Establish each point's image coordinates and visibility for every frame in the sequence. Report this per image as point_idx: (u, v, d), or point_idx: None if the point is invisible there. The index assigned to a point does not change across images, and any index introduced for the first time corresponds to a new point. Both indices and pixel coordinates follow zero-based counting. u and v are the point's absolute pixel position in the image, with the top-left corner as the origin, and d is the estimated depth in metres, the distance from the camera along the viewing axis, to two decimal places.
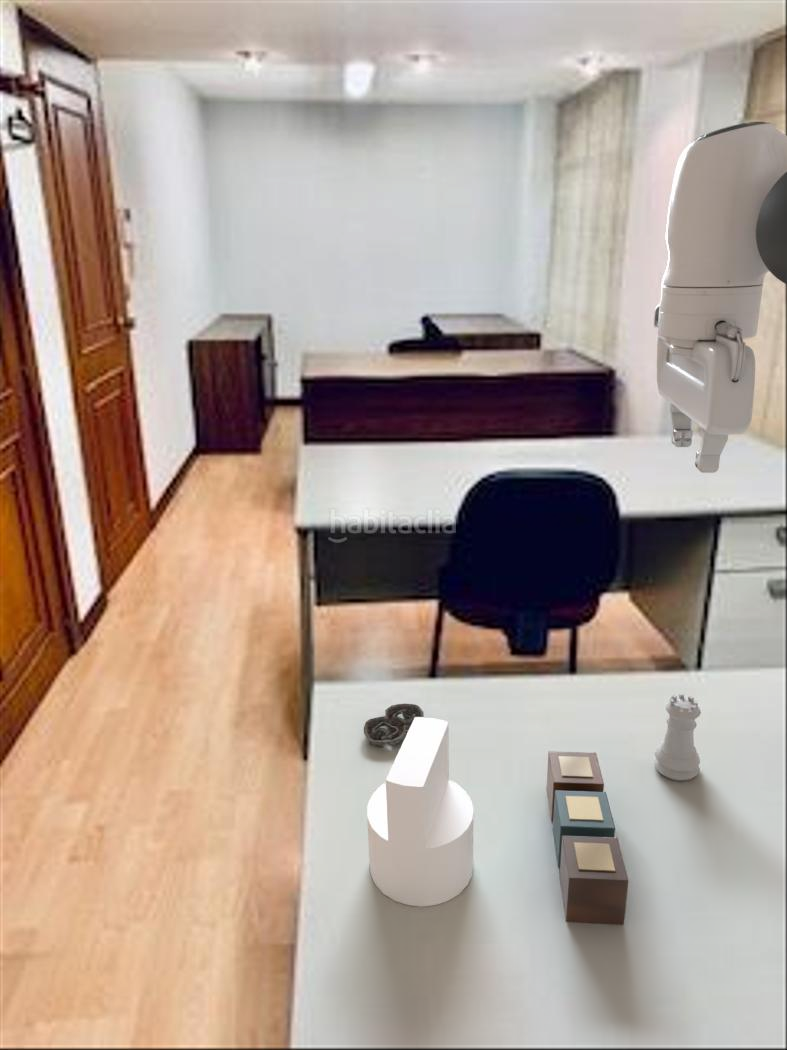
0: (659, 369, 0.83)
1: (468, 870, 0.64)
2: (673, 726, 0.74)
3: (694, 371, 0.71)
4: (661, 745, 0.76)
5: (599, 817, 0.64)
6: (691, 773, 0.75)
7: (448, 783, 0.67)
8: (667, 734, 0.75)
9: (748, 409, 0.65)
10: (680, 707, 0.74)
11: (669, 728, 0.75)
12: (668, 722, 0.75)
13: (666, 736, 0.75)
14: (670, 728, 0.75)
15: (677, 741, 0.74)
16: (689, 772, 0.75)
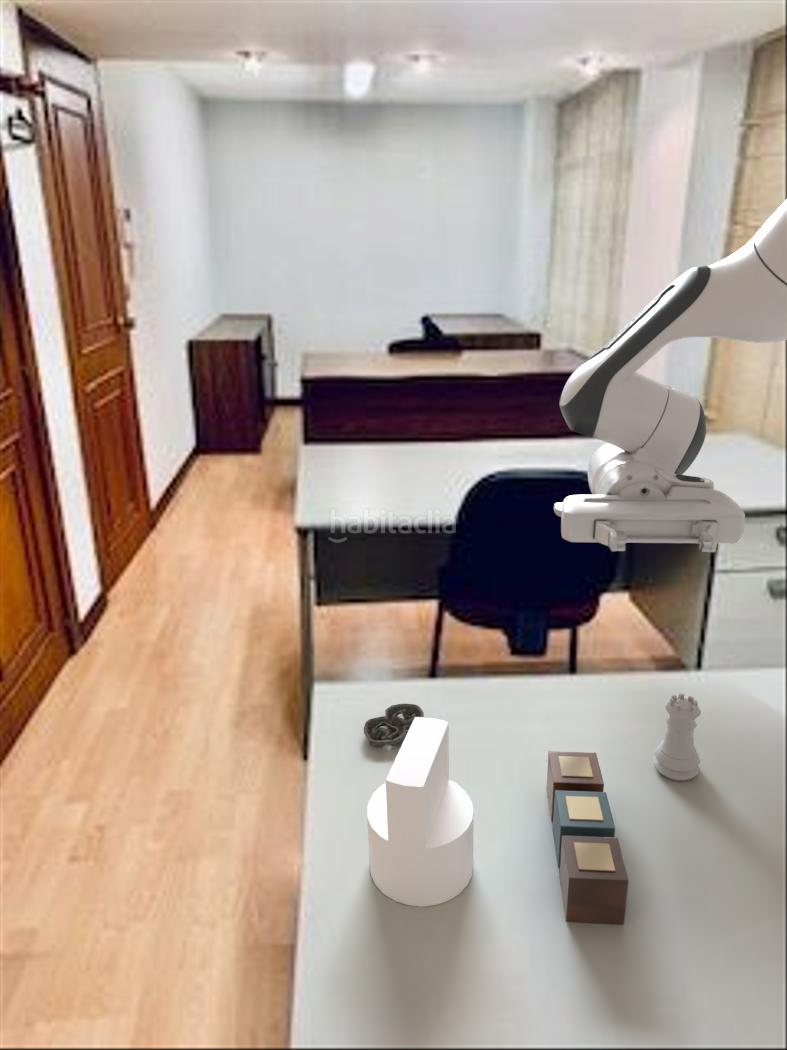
0: None
1: (468, 870, 0.64)
2: (673, 726, 0.74)
3: None
4: (661, 745, 0.76)
5: (599, 817, 0.64)
6: (691, 773, 0.75)
7: (448, 783, 0.67)
8: (667, 734, 0.75)
9: (562, 511, 0.88)
10: (680, 707, 0.74)
11: (669, 728, 0.75)
12: (668, 722, 0.75)
13: (666, 736, 0.75)
14: (670, 728, 0.75)
15: (677, 741, 0.74)
16: (689, 772, 0.75)
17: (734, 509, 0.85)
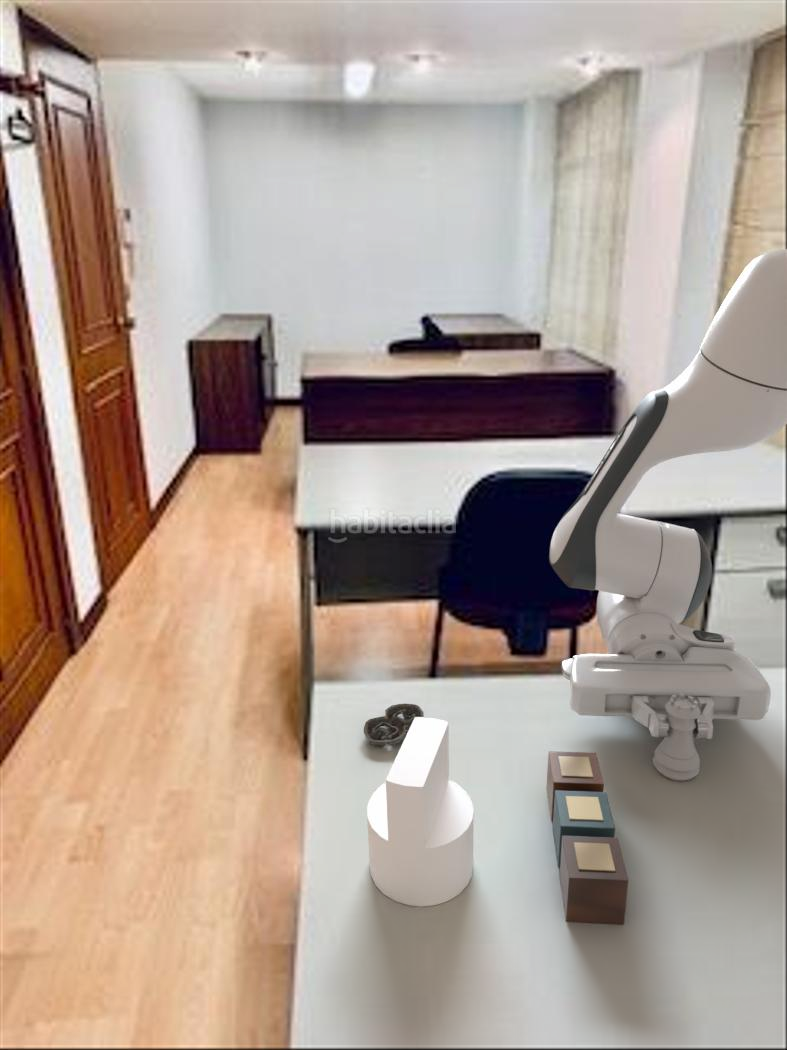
0: None
1: (468, 870, 0.64)
2: (673, 726, 0.74)
3: None
4: (661, 745, 0.76)
5: (599, 817, 0.64)
6: (691, 773, 0.75)
7: (448, 783, 0.67)
8: None
9: (570, 679, 0.81)
10: (680, 707, 0.74)
11: (669, 728, 0.75)
12: None
13: None
14: (670, 728, 0.75)
15: (677, 741, 0.74)
16: (689, 772, 0.75)
17: (758, 682, 0.78)
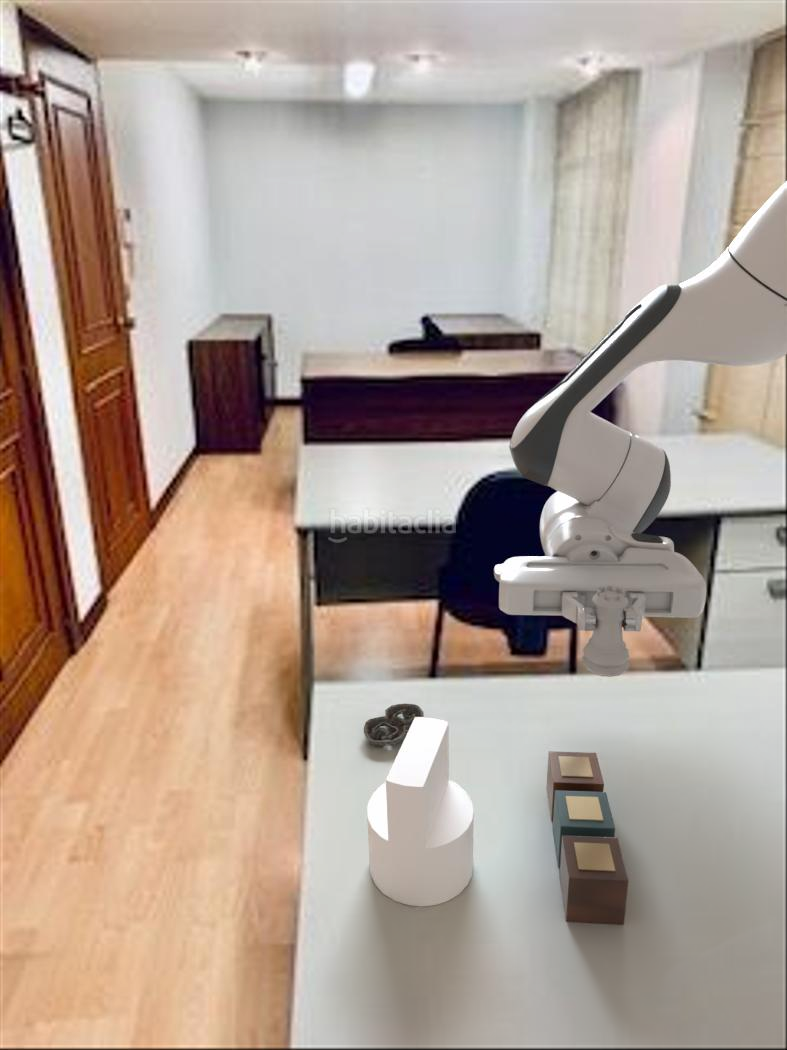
0: None
1: (468, 870, 0.64)
2: (600, 618, 0.70)
3: None
4: (589, 641, 0.73)
5: (599, 817, 0.64)
6: (620, 668, 0.71)
7: (448, 783, 0.67)
8: (595, 628, 0.72)
9: (499, 578, 0.77)
10: (607, 597, 0.70)
11: (596, 621, 0.71)
12: None
13: None
14: (598, 620, 0.71)
15: (605, 634, 0.71)
16: (617, 667, 0.71)
17: (694, 578, 0.75)
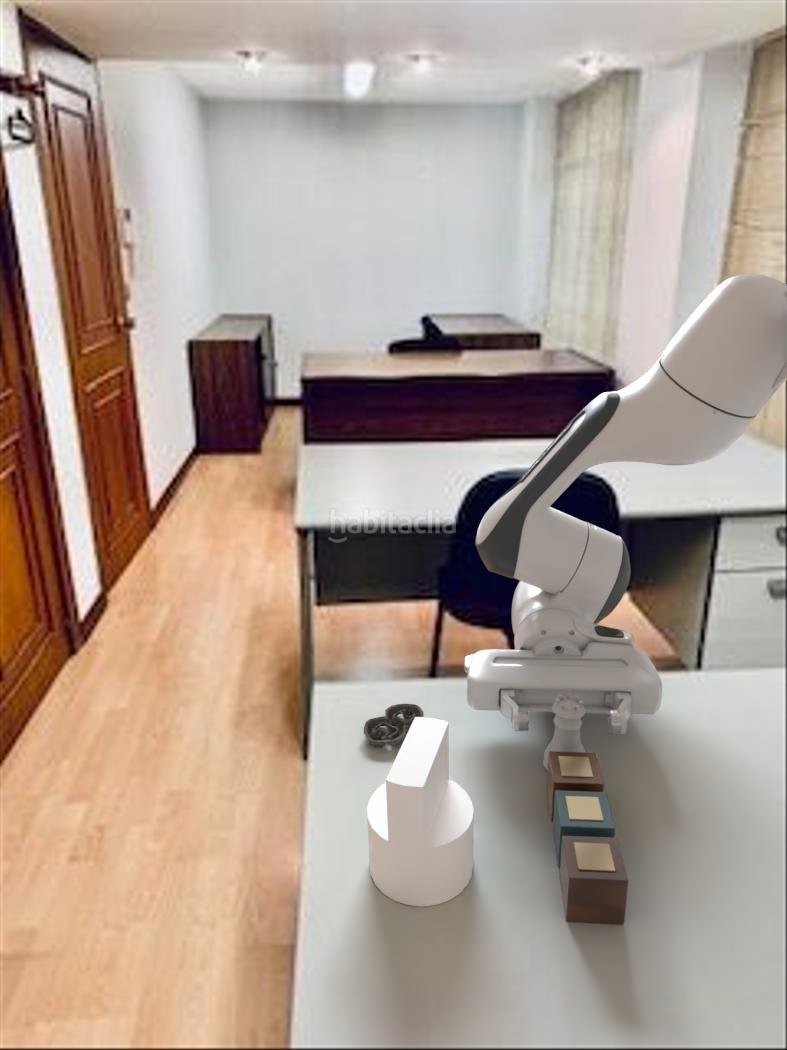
0: None
1: (468, 870, 0.64)
2: (558, 726, 0.75)
3: None
4: (550, 744, 0.77)
5: (599, 817, 0.64)
6: None
7: (448, 783, 0.67)
8: (554, 733, 0.76)
9: None
10: (565, 707, 0.74)
11: (556, 727, 0.75)
12: (554, 722, 0.75)
13: (554, 735, 0.76)
14: (557, 727, 0.75)
15: (563, 740, 0.75)
16: None
17: (651, 677, 0.79)
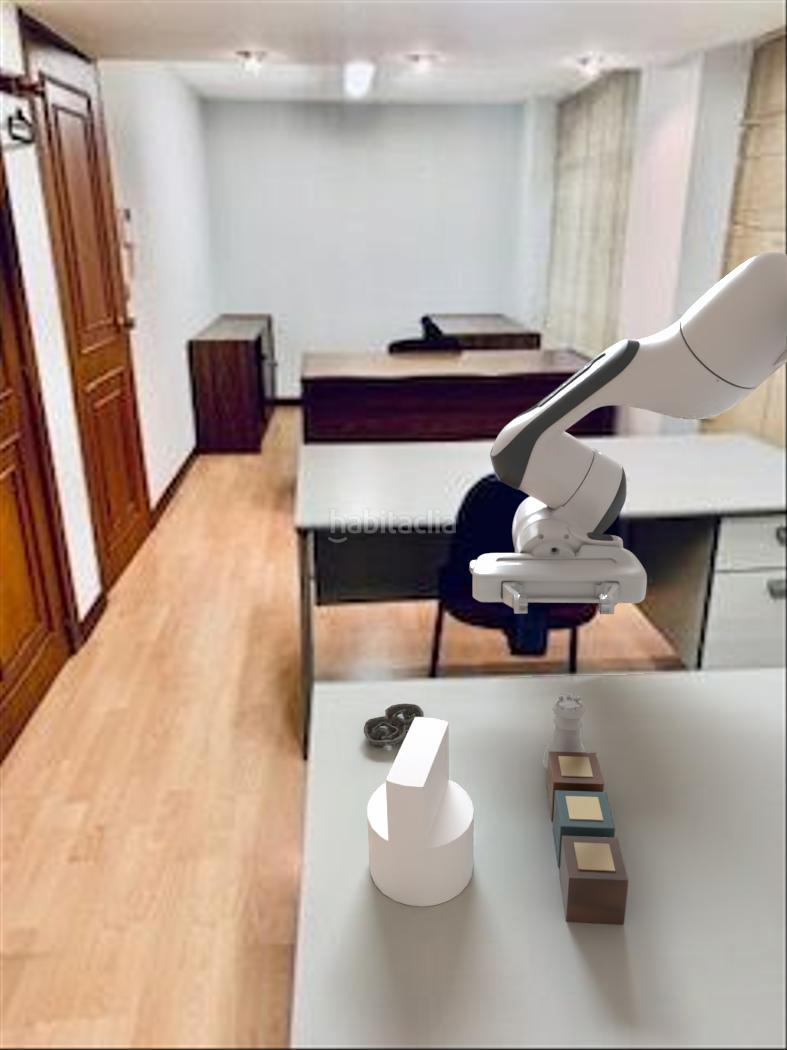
0: None
1: (468, 870, 0.64)
2: (558, 726, 0.75)
3: None
4: (550, 744, 0.77)
5: (599, 817, 0.64)
6: None
7: (448, 783, 0.67)
8: (554, 733, 0.76)
9: (473, 571, 0.91)
10: (565, 707, 0.74)
11: (556, 727, 0.75)
12: (554, 722, 0.75)
13: (554, 735, 0.76)
14: (557, 727, 0.75)
15: (563, 740, 0.75)
16: None
17: (636, 570, 0.88)
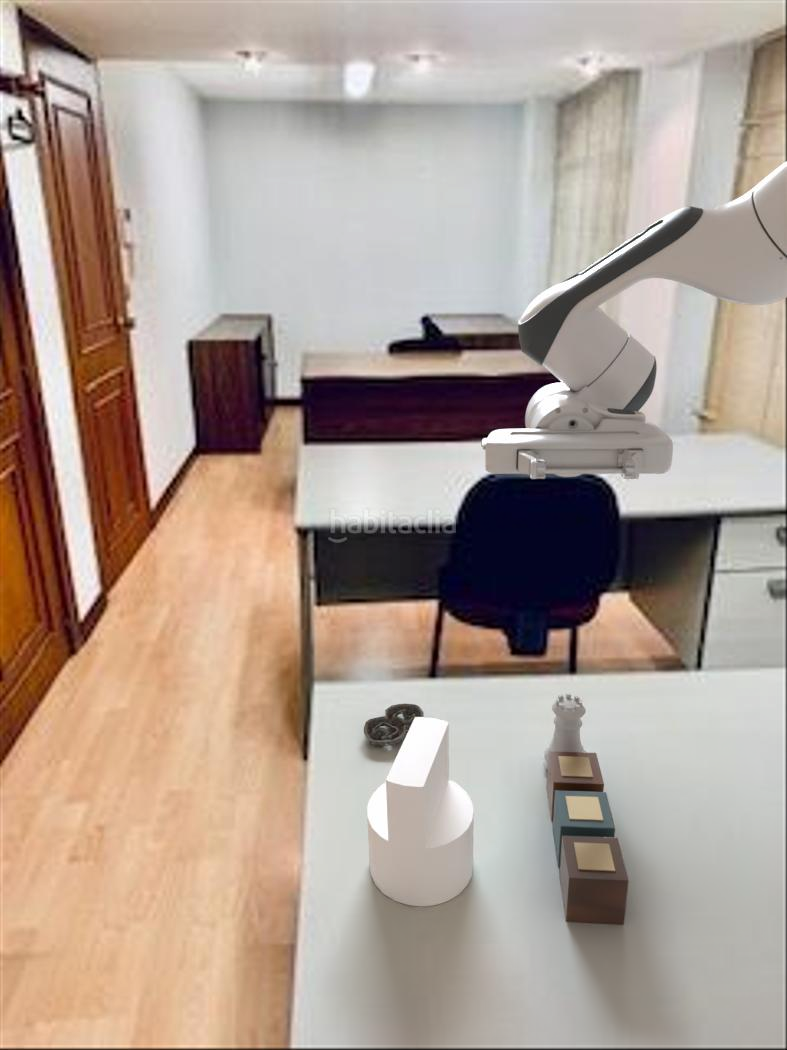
0: None
1: (468, 870, 0.64)
2: (558, 726, 0.75)
3: None
4: (550, 744, 0.77)
5: (599, 817, 0.64)
6: None
7: (448, 783, 0.67)
8: (554, 733, 0.76)
9: None
10: (565, 707, 0.74)
11: (556, 727, 0.75)
12: (554, 722, 0.75)
13: (554, 735, 0.76)
14: (557, 727, 0.75)
15: (563, 740, 0.75)
16: None
17: (662, 438, 0.82)
